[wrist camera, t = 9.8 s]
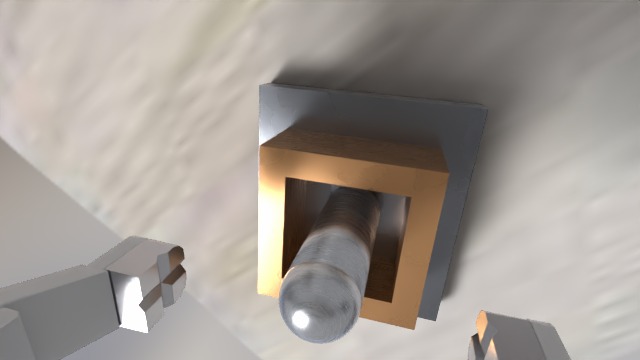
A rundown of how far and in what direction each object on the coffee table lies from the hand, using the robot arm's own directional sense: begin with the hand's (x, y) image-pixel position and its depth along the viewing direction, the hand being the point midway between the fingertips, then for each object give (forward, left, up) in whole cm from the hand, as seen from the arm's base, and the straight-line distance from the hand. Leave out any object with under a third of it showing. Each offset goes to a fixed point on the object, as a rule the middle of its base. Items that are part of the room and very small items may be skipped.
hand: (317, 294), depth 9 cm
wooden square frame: (0, 0, -7) cm, 7 cm away
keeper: (+1, 0, -8) cm, 8 cm away
